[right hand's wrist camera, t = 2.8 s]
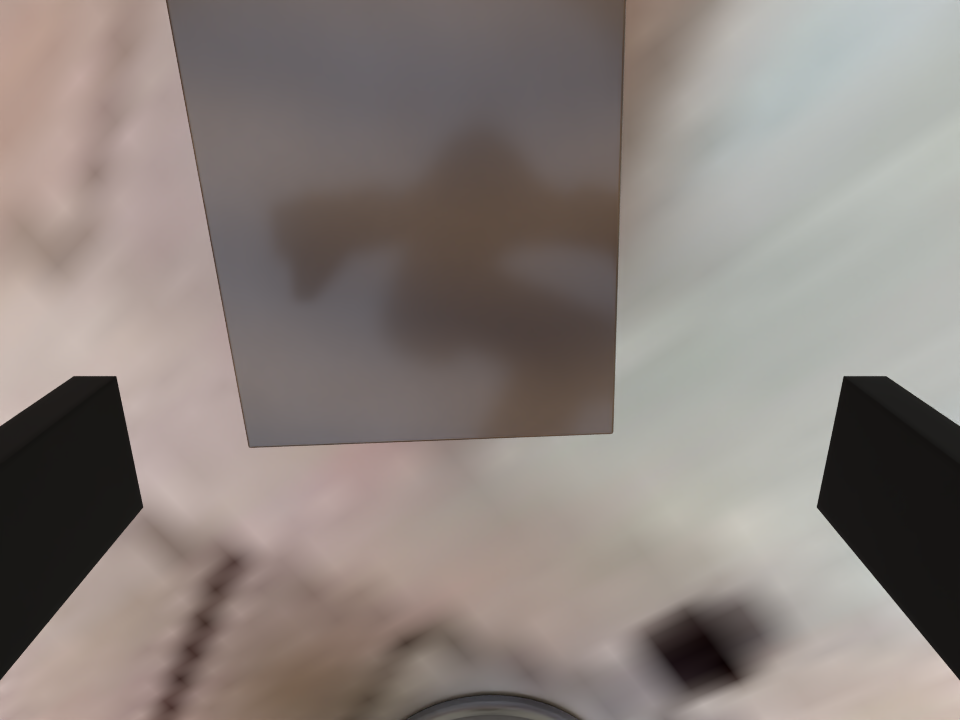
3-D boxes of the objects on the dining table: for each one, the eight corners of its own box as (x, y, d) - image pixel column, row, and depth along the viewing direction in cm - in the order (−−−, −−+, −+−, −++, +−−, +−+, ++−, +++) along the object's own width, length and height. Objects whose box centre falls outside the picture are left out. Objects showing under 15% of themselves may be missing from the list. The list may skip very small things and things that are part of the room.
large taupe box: (254, -238, 24) (69, -516, 13) (569, -256, 24) (642, -551, 13) (327, 329, 31) (248, 448, 21) (567, 319, 31) (613, 434, 20)
